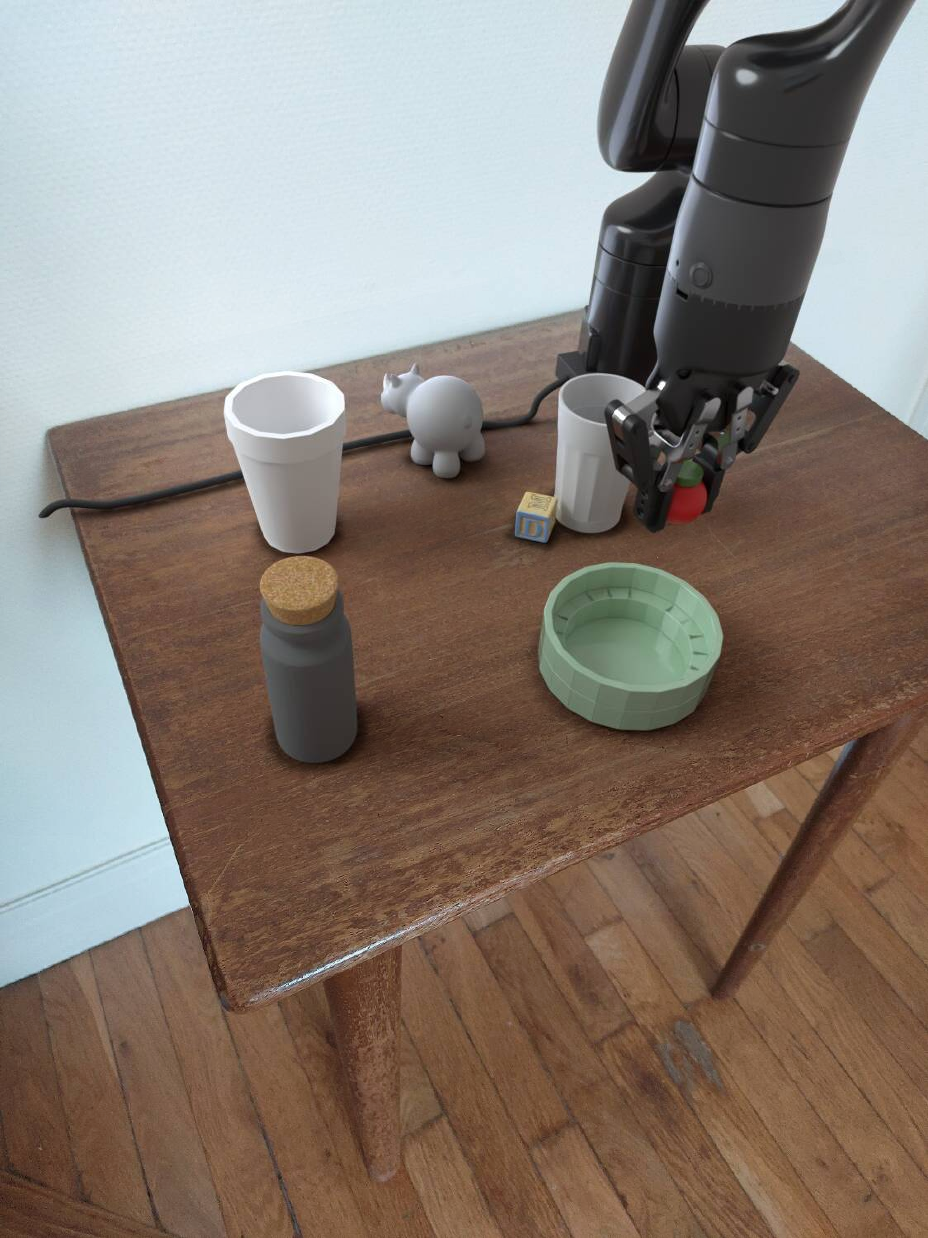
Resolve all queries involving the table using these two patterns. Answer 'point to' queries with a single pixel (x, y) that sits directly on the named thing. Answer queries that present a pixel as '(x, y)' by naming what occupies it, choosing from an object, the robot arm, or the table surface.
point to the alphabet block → (536, 517)
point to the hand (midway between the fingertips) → (672, 514)
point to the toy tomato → (687, 495)
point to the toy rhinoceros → (437, 418)
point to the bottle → (308, 659)
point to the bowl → (628, 645)
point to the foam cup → (289, 454)
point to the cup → (589, 453)
